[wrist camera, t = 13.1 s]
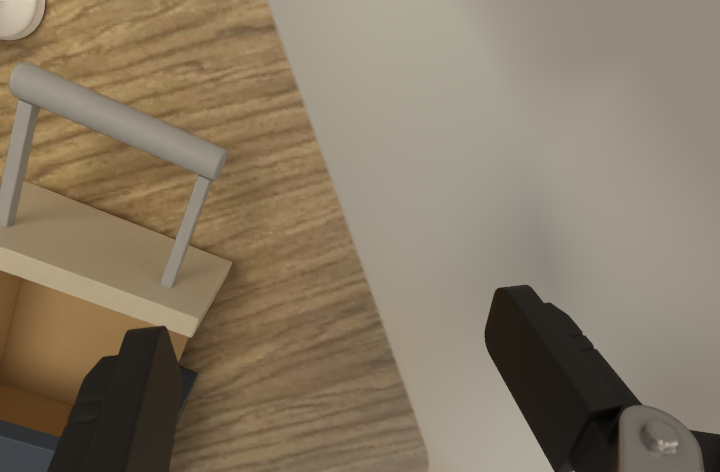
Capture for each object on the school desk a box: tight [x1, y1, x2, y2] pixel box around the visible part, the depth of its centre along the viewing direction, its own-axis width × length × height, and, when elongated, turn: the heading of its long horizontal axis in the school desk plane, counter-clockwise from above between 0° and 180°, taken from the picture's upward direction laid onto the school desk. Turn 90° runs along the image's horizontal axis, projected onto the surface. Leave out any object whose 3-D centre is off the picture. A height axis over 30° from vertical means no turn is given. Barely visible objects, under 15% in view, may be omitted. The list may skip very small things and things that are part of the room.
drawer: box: [0, 62, 232, 437], centre depth 24 cm, size 22×13×7 cm, turn 155°
